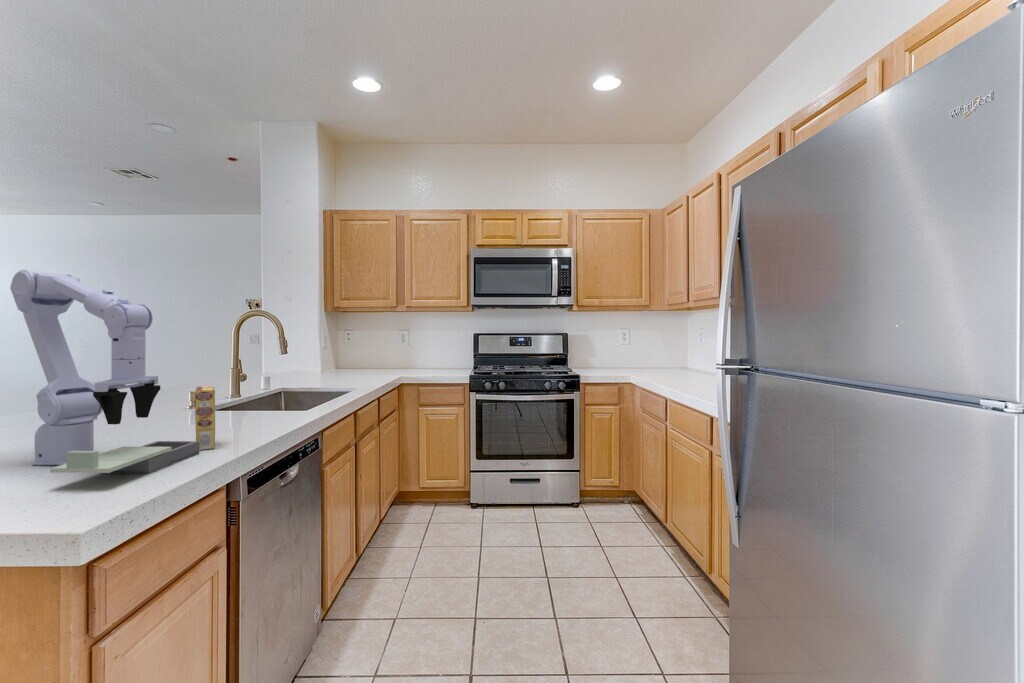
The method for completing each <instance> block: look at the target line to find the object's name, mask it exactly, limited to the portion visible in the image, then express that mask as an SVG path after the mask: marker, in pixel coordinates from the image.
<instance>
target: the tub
mask: <svg viewBox="0 0 1024 683" xmlns="http://www.w3.org/2000/svg"><path fill="white" fill-rule="evenodd" d="M139 447H172V450H171V451H169V452H166V453H163V454H160V455H157V456H154V457H152V458H149V459H146V460H143V461H140V462H138V463H135V464H132V465H129V466H126V467H124V468H121V469H118V470H115V471H112V472H110V473H109V474H135V475H136V473H137V475H138V474H140V473H141V474H146V475H147V474H148V475H149V474H151V473H153V472H156V471H159V470H161V469H163V468H167V467H168V466H171V465H174V464H176V463H179V462H182V461H184V460H186V459H190V458H191V457H194V456H197V455H200V450H199V441H196V440H195V441H193V440H185V441H183V440H156V441H154V442H151V443H148V444H144V445H140V446H139Z"/></svg>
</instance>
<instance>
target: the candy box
mask: <svg viewBox="0 0 1024 683" xmlns="http://www.w3.org/2000/svg"><path fill="white" fill-rule="evenodd" d="M194 397H195V399H194V401H195V403H194V404H195V411H194V412H195V441H199V451H204V450H213V449H215V447H216V399H215V398H216V396H215V385H209V386H208V385H207V386H205V385H204V386H196V389H195V396H194Z"/></svg>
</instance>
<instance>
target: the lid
mask: <svg viewBox="0 0 1024 683" xmlns="http://www.w3.org/2000/svg"><path fill="white" fill-rule="evenodd" d="M171 450H172V447H140V446H132V445H131V446H127V445H126V446H125V445H123V446H120V447H117V448H113V449H110V450H107V451H104V452H100V453H99V450H94V451H70V452H66V460H67V464H63V465H56V466H53V467H51V468H50V473H55V474H57V473H58V474H59V473H60V474H61V473H63V474H64V473H66V474H67V473H68V474H71V473H74V474H75V473H76V474H78V473H79V474H80V473H81V474H83V473H85V474H86V473H87V474H88V473H89V474H90V473H91V474H95V473H96V474H111V473H110V472H112V471H115V470H118V469H121V468H124V467H126V466H129V465H132V464H135V463H138V462H140V461H143V460H146V459H149V458H152V457H154V456H157V455H160V454H163V453H166V452H169V451H171Z"/></svg>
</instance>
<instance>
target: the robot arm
mask: <svg viewBox="0 0 1024 683" xmlns="http://www.w3.org/2000/svg"><path fill="white" fill-rule="evenodd" d="M9 288H10V291H11V294H12V297H13V300H14V302H15V304H16V308H17V310H18V311H20V312H21V313H22V314H23V317H24V321H25V324H26V327H27V329H28V332H29V334H30V337H31V340H32V343H33V345H34V346H33V347H34V348H35V351H36V354H37V357H38V359H39V363H40V365H41V368H42V370H43V373H44V376H45V380H46V382H47V385H45V386H44V387H43V388H41V389H40V390H39V391H38V393H37V394H36V395H35V397H36V401H37V414H38V417H39V419H41V420H42V421H43V422H44V423H43V424H41V425H40V426H39V427H38V428H37V429H36V430H35V434H34V461H33V462H30V465H32V466H46V465H47V466H60V465H63V464H67V460H66V452H70V451H95V450H94V448H95V446H94V445H95V444H94V440H95V437H94V435H95V433H94V429H95V428H94V426H95V425H94V424H95V423H94V422H95V421H96V420H98V416H99V415H101V414H102V412H103V414H104V417H105V420H106V424H108V425H120V424H121V422H122V416H123V415H122V414H123V405H124V402H125V400H126V397H127V395H128V392H127V391H120V390H121V389H128V388H129V390H130V391H131V394H132V397H133V401H134V409H135V410H134V411H135V416H136V418H139V419H140V418H143V419H145V418H148V417H149V415H150V412H151V408H152V405H153V403H154V400H155V398H156V396H157V395H158V393H159V392H160V390H161V385H159V375H146V331H147V330H148V329H149V328H150V327H151V326H152V324H153V313H152V310H151V309H150V308H149V307H148V306H146V305H145V304H142V303H141V304H132V303H131V302H130V301H129V299H127V298H121V297H119V296H117V295H115V294H114V292H115V291H113V290H110V289H101V290H100V289H99V290H94V289H93V288H91V287H89V286H87V284H84V283H83V282H81V278H79V277H75V276H74V275H72V274H59V273H50V272H39V271H33V270H32V271H31V270H28V269H20V270H18V271H17V272H16V273H15V274H14V276H13V277H12V280H11V284H10V287H9ZM74 301H76V302H79V303H80V304H83V307H84V309H85V311H87V313H89V314H92V315H94V316H95V317H97V318H99V319H101V320H103V322H104V325H105V326H106V328H107V336H108V337H109V338H111V339H110V340H111V341H110V342H111V350H110V351H111V361H110V364H111V371H110V372H111V379H107V380H103V381H95V382H94V383H93V382H90V381H89V380H86V379H84V378H82V377H80V375H79V372H78V370H77V366H76V363H75V361H74V359H73V356H72V353H71V351H70V348H69V346H68V342H67V339H66V337H65V334H64V332H63V329H62V326H61V323H60V321H59V319H58V318H59V315H62V314H65V313H67V311H68V309H69V308H70V307H71V305H72V304H73V303H74Z"/></svg>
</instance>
